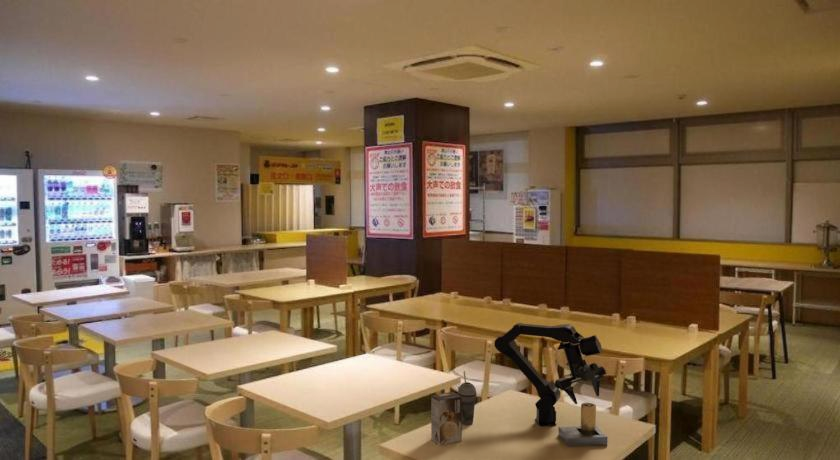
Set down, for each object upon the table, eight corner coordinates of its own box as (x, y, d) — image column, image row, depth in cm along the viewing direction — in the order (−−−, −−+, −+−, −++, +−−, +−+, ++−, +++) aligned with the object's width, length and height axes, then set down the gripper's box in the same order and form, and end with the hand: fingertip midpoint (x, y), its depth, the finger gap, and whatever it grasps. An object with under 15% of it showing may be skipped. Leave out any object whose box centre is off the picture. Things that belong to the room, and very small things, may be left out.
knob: (578, 440, 211) (579, 405, 210) (582, 435, 215) (583, 401, 215) (592, 443, 208) (593, 408, 208) (596, 438, 213) (597, 404, 212)
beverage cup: (475, 427, 222) (475, 374, 221) (455, 426, 224) (456, 373, 223) (477, 420, 229) (478, 369, 228) (458, 419, 231) (459, 367, 230)
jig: (568, 446, 206) (568, 438, 206) (558, 435, 216) (558, 426, 216) (607, 445, 207) (607, 436, 207) (595, 433, 217) (596, 425, 217)
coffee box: (452, 434, 216) (453, 391, 215) (462, 441, 210) (462, 396, 209) (430, 439, 211) (430, 394, 211) (439, 446, 206) (439, 400, 205)
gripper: (562, 367, 211) (575, 411, 210) (607, 352, 216) (620, 394, 215) (548, 365, 222) (561, 407, 220) (592, 351, 227) (604, 391, 225)
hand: (587, 400), depth 220 cm, fingers open, 9 cm apart
